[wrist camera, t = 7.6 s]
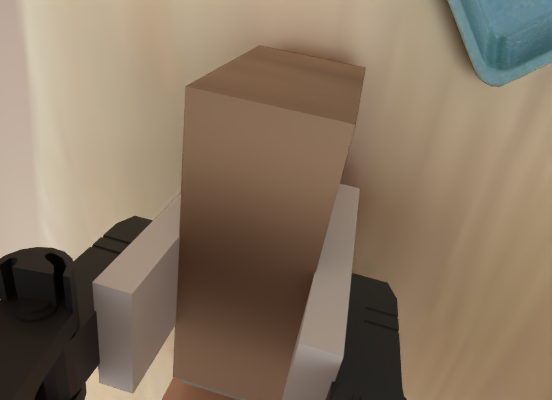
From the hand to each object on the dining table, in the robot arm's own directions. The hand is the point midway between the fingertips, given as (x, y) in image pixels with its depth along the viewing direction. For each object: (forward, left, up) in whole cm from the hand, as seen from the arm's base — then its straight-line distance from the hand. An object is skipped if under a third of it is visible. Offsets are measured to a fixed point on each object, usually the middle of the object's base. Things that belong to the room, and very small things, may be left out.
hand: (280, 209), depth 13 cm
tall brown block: (-3, 0, -1) cm, 3 cm away
